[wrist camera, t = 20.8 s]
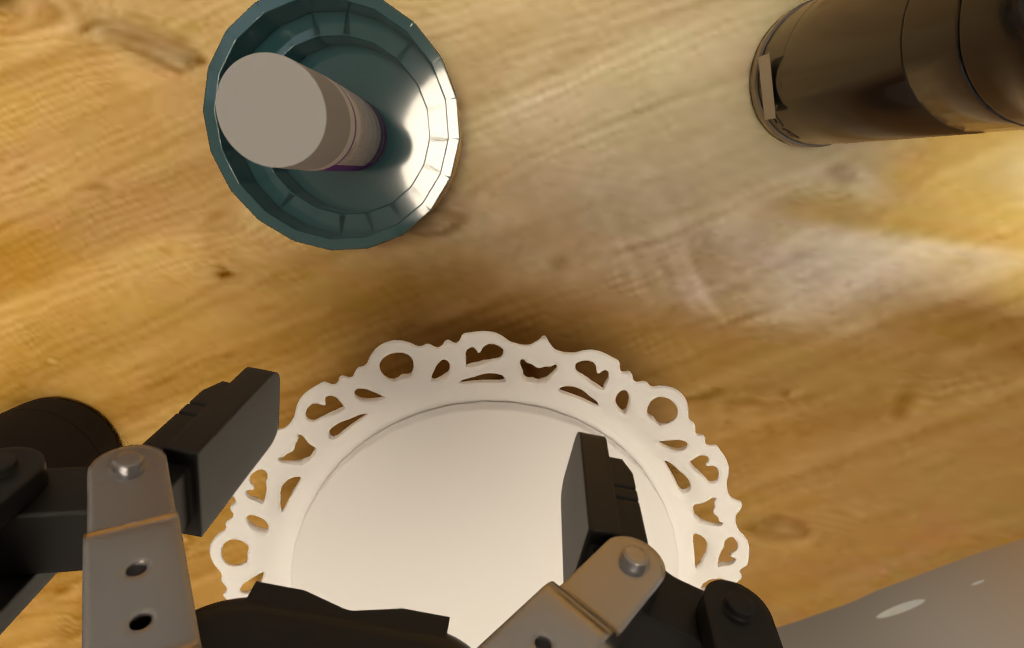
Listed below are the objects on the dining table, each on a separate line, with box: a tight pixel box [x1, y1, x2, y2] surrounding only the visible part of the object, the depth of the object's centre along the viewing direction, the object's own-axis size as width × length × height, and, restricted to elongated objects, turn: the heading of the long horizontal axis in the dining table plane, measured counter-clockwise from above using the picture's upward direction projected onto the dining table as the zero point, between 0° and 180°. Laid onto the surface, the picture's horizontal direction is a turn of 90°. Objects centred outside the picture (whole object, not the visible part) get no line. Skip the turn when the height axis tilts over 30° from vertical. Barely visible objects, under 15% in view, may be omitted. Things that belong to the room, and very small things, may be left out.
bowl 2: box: [210, 331, 749, 648], centre depth 39 cm, size 32×32×13 cm
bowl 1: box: [203, 0, 463, 250], centre depth 35 cm, size 14×14×6 cm
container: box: [216, 52, 388, 171], centre depth 30 cm, size 5×5×15 cm
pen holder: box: [0, 398, 119, 468], centre depth 38 cm, size 9×9×10 cm
